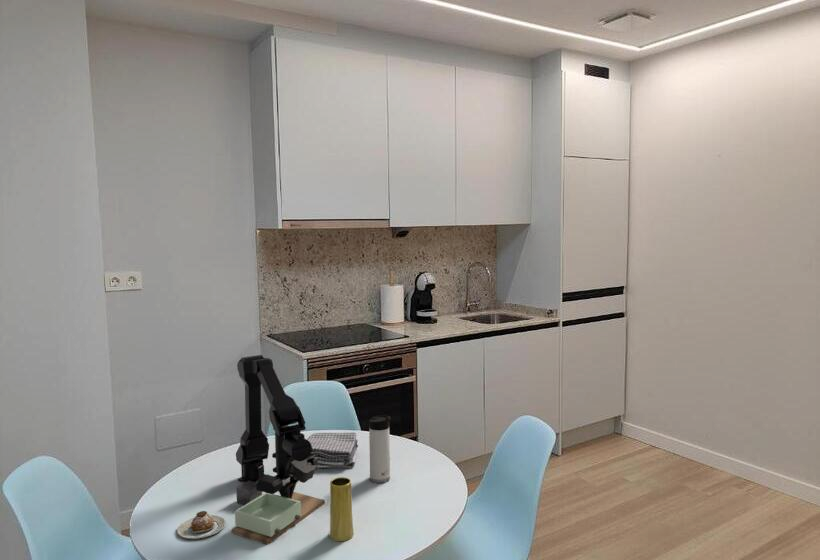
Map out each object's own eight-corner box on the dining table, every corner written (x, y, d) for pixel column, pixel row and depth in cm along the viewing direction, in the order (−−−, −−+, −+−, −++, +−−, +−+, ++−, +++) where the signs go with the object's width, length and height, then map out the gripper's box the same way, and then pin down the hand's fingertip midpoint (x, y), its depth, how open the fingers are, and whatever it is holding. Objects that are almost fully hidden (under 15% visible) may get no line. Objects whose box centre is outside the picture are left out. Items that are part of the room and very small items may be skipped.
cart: (233, 525, 151) (232, 510, 150) (264, 505, 161) (264, 491, 161) (273, 537, 145) (273, 522, 144) (303, 516, 155) (303, 502, 155)
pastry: (225, 538, 148) (224, 521, 147) (174, 546, 144) (174, 528, 144) (226, 516, 159) (225, 500, 159) (179, 522, 156) (178, 506, 155)
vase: (330, 529, 151) (329, 476, 149) (353, 528, 151) (352, 475, 150) (329, 542, 145) (327, 487, 143) (353, 540, 145) (352, 486, 144)
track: (231, 532, 149) (231, 529, 149) (291, 494, 171) (291, 491, 170) (267, 544, 144) (267, 540, 144) (324, 503, 165) (324, 500, 165)
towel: (308, 452, 204) (308, 430, 203) (360, 452, 203) (360, 430, 202) (298, 470, 189) (297, 446, 188) (354, 470, 188) (354, 447, 187)
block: (236, 504, 165) (236, 487, 165) (249, 496, 170) (248, 480, 169) (250, 507, 163) (249, 490, 163) (262, 500, 167) (261, 483, 167)
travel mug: (388, 484, 177) (387, 420, 175) (367, 482, 178) (366, 419, 176) (393, 475, 183) (392, 414, 181) (372, 473, 184) (372, 412, 183)
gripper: (287, 467, 146) (288, 526, 148) (330, 442, 163) (331, 495, 164) (253, 459, 151) (255, 516, 153) (298, 436, 168) (300, 487, 169)
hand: (287, 503), depth 160 cm, fingers closed
